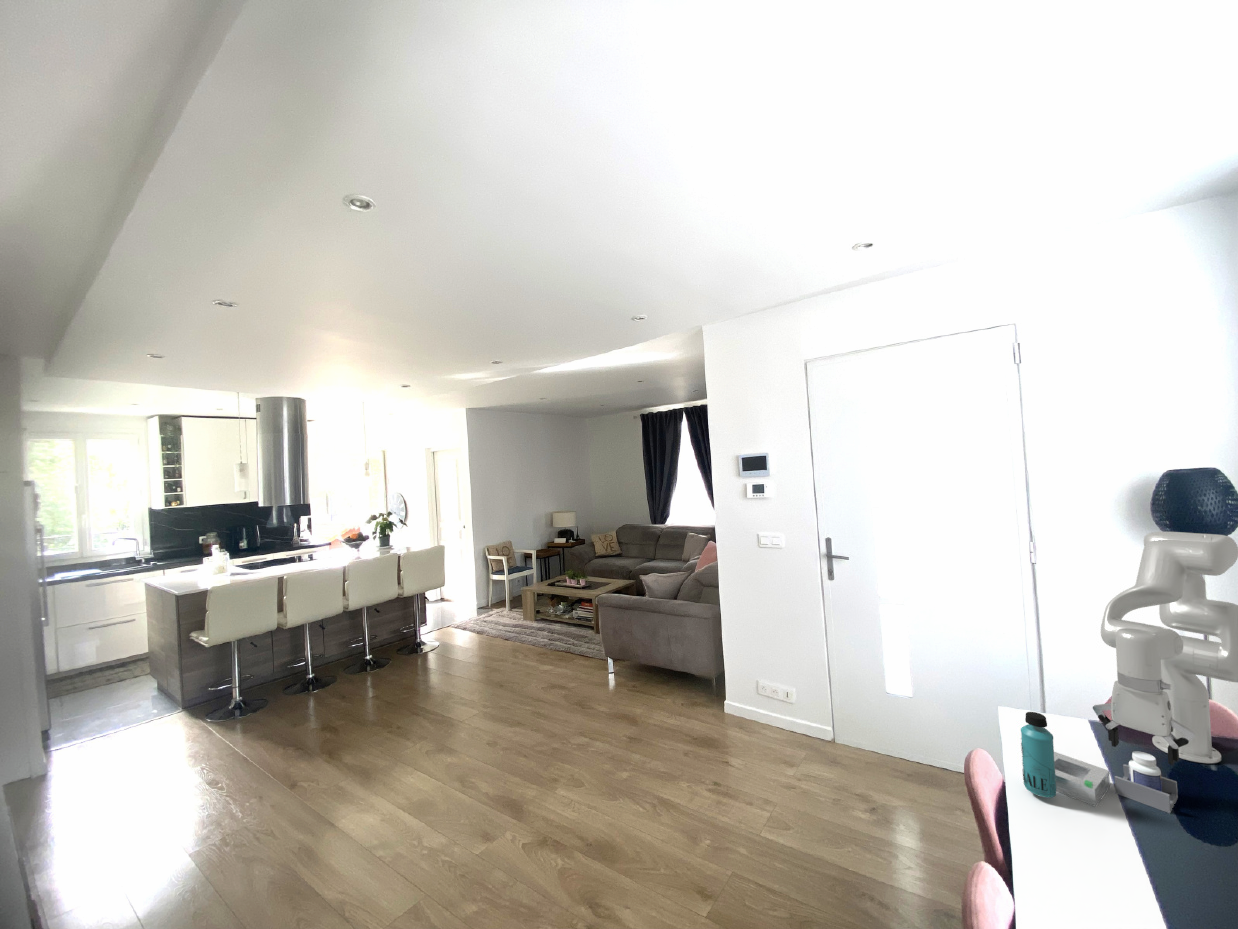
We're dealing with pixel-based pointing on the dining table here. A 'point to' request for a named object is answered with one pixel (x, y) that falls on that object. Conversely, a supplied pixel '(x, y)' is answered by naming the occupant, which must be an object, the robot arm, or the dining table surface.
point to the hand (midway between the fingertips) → (1142, 753)
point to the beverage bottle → (1038, 756)
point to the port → (1080, 779)
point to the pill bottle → (1145, 770)
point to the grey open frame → (1148, 792)
